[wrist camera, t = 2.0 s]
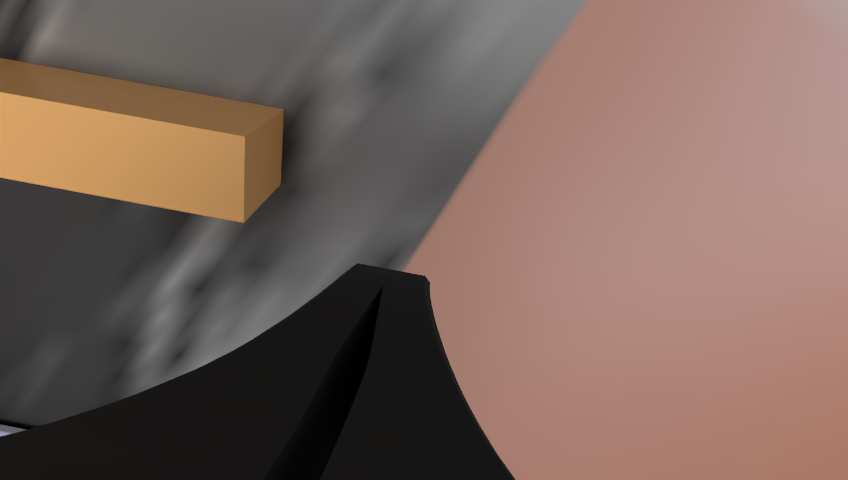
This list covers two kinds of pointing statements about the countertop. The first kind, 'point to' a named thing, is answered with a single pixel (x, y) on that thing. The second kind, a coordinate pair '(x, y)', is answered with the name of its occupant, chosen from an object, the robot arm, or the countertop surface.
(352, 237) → the countertop surface
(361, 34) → the countertop surface
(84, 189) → the plug
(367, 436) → the robot arm
